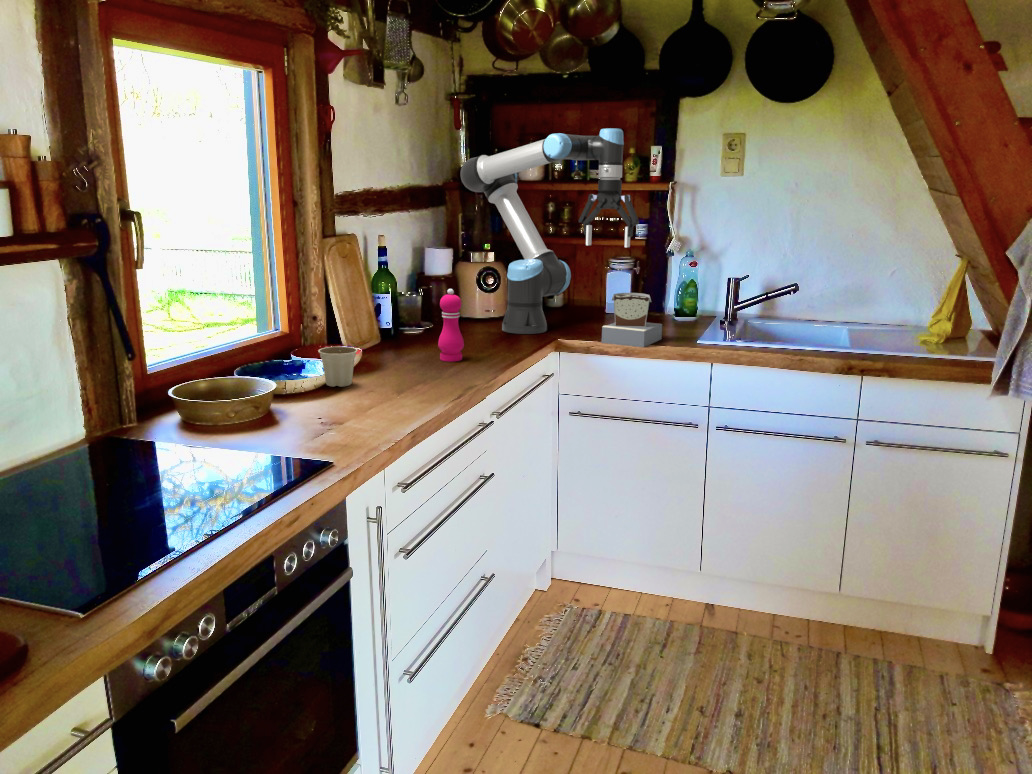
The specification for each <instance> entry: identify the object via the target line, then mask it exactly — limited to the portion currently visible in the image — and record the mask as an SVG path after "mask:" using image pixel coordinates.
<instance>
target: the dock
mask: <svg viewBox="0 0 1032 774" xmlns="http://www.w3.org/2000/svg"><path fill="white" fill-rule="evenodd" d="M601 328H602V329H601V343H602V344H609V345H610V344H611V345H617V346H618V345H619V346H626V347H627V346H628V347H636V348H637V347H638V348H645V347H647V346H650V345H652V344H654V343H657V342H658V341H660V340H662V339H663V338H662V335H663V324H662V323H655V322H647V321H646V326H645V327H615V322H613V323H610V324H607V325H603V326H601Z"/></svg>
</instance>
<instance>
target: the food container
mask: <svg viewBox="0 0 1032 774" xmlns="http://www.w3.org/2000/svg"><path fill="white" fill-rule="evenodd" d="M611 297H612V298H611V302H613V311H614V312H613V313H614V323H615V327H645V326H646V322H647V318H648V311H649V306H650V303H652V299H651V296H650V294H646V293H642V292H641V293H639V292H617V293H613V295H612V296H611Z"/></svg>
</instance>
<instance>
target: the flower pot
mask: <svg viewBox="0 0 1032 774" xmlns="http://www.w3.org/2000/svg"><path fill="white" fill-rule="evenodd" d="M317 351H318V353H319V356H320V358H321V363H322V367H323V373H324V377H325V379H324V380H325V385H326V386H329V387H332V388H334V387H336V386H338V387H341V388H343V387H349V386H351V384H352V383H353V374H354V367H355V358H356V356H357V352H358V348H356V347H353V346H352V347H351V346H327V347H322V348H319V349H318V350H317Z"/></svg>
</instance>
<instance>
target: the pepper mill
mask: <svg viewBox="0 0 1032 774" xmlns="http://www.w3.org/2000/svg"><path fill="white" fill-rule="evenodd" d="M446 291H447V294H444V295H442V297H441V298H440V301H439V307H440V309H441V310H442V311H441V317H442V318H443V323H442V324H443V326H442V330H441V332H440V335H439V337H438V344H437V347H438V348H439V350H441V352H440V353H439V360H440V361H443V362H450V363H451V362H453V363H454V362H459V361H462V360H463V352H461V351H462V350H463V349H464V346H465V343H464V341H465V340H464V338H463V337H464V336H463V335H462V333H461V330H460V326H459V318H460V317H461V316H460V310H461V308H462V299H461V298H460V297H459V296H458V295H456V294H455V291H454V289H453V288H448V289H447V290H446Z"/></svg>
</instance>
